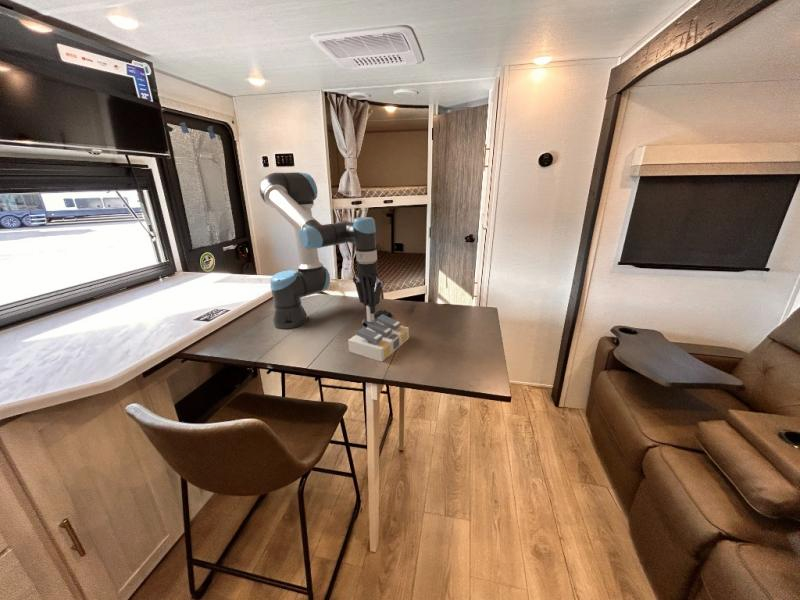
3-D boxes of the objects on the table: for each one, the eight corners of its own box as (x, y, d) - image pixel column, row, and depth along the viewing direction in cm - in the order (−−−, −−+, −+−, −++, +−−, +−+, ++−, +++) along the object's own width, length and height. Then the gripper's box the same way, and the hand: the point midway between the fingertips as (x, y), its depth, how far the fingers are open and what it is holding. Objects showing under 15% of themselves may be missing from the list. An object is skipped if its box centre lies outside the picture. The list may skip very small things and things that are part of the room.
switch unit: (349, 351, 119) (347, 337, 117) (378, 330, 135) (378, 317, 132) (382, 362, 111) (381, 346, 109) (409, 338, 127) (409, 324, 125)
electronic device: (376, 317, 152) (357, 325, 139) (378, 306, 150) (359, 313, 138) (392, 323, 148) (374, 332, 135) (394, 312, 146) (376, 320, 134)
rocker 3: (376, 321, 126) (377, 317, 125) (382, 317, 129) (382, 313, 128) (395, 330, 123) (395, 326, 122) (400, 326, 126) (400, 322, 125)
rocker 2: (367, 327, 121) (367, 323, 120) (372, 323, 124) (373, 319, 123) (386, 337, 117) (386, 333, 117) (391, 332, 121) (392, 328, 120)
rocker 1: (356, 334, 116) (356, 330, 115) (363, 330, 119) (363, 326, 118) (376, 343, 112) (376, 339, 111) (382, 339, 115) (382, 335, 115)
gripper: (346, 261, 113) (351, 320, 122) (375, 265, 107) (379, 327, 115) (359, 257, 119) (363, 313, 128) (387, 261, 113) (389, 320, 121)
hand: (370, 320), depth 121 cm, fingers closed
